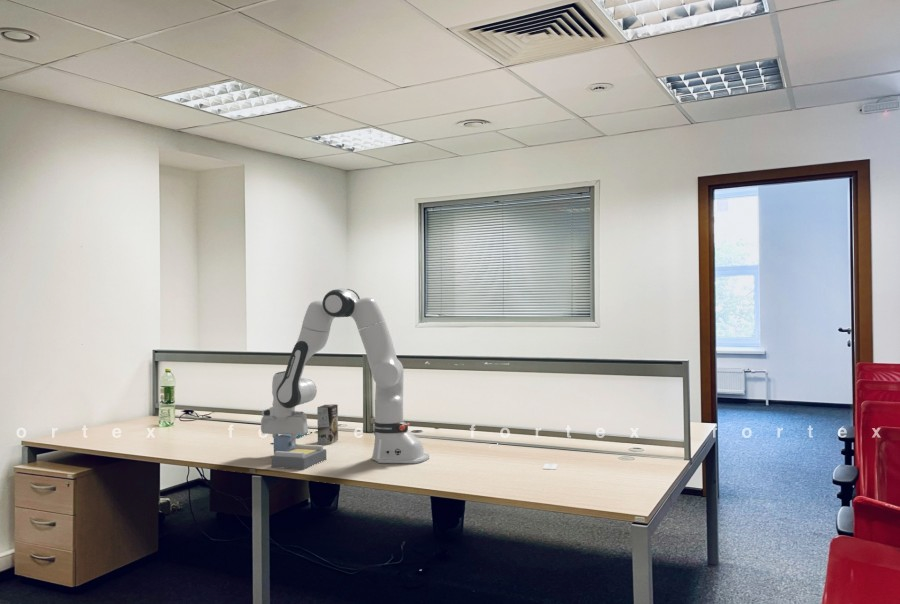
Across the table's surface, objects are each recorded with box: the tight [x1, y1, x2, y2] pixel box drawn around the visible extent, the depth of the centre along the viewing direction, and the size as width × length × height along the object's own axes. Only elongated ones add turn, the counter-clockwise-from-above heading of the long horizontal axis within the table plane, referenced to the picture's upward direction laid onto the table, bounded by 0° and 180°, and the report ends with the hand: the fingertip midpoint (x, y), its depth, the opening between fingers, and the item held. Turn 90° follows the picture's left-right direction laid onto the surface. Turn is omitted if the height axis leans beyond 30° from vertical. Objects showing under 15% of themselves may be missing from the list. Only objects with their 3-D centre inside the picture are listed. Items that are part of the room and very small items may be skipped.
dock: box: [271, 443, 327, 470], centre depth 254 cm, size 14×16×6 cm
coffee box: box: [316, 404, 339, 445], centre depth 294 cm, size 9×6×16 cm
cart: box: [273, 434, 297, 456], centre depth 269 cm, size 5×8×8 cm, turn 160°
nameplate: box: [270, 431, 309, 445], centre depth 308 cm, size 37×1×5 cm
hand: (284, 445), depth 269 cm, fingers closed on cart, 5 cm apart
